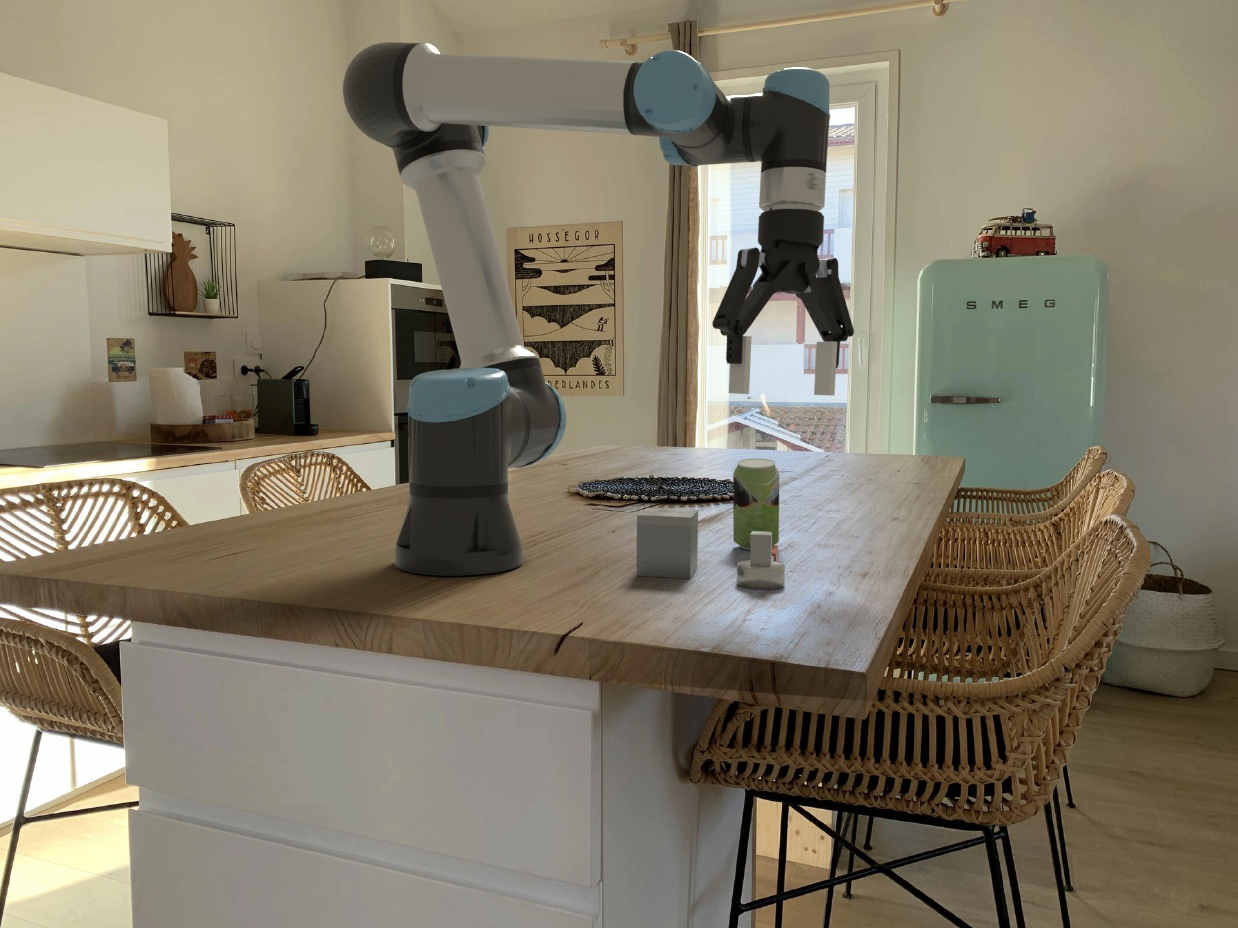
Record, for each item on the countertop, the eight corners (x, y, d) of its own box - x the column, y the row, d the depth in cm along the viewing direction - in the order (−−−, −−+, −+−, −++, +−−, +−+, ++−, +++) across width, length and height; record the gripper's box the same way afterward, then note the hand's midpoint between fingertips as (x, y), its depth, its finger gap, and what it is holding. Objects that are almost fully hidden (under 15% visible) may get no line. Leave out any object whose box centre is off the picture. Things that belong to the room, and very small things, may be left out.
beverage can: (777, 544, 127) (779, 457, 126) (780, 554, 120) (783, 462, 119) (731, 543, 128) (732, 456, 127) (732, 553, 121) (734, 461, 120)
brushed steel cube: (636, 575, 106) (637, 515, 105) (646, 565, 112) (646, 507, 111) (690, 578, 105) (691, 517, 104) (697, 568, 111) (698, 510, 110)
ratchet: (734, 587, 100) (735, 535, 100) (746, 558, 117) (747, 513, 116) (783, 590, 99) (784, 538, 99) (788, 560, 116) (789, 515, 115)
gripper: (729, 193, 98) (720, 394, 100) (889, 220, 112) (879, 396, 114) (686, 202, 104) (679, 391, 106) (843, 227, 118) (834, 394, 120)
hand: (782, 394), depth 110 cm, fingers open, 13 cm apart
